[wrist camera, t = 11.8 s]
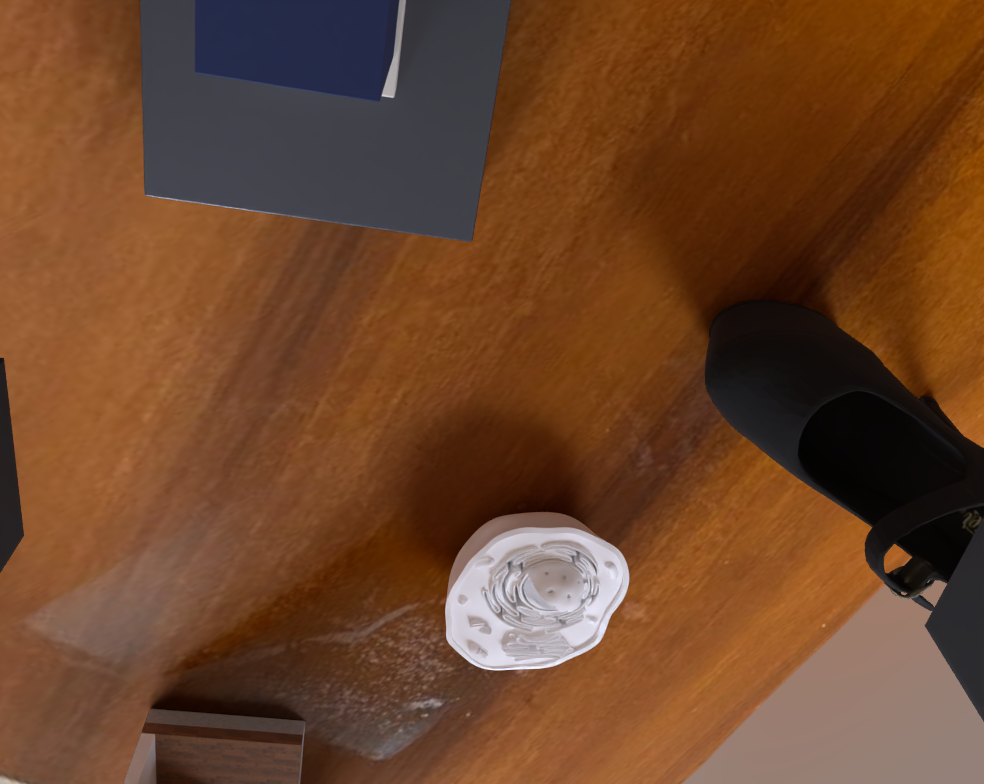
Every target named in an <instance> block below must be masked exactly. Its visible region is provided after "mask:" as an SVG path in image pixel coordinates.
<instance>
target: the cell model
mask: <svg viewBox="0 0 984 784" xmlns="http://www.w3.org/2000/svg"><path fill="white" fill-rule="evenodd" d="M628 585H629V571H628V566H627V563H626V560H625V558H624V556H623V555H622V553H621V552H620V551H619V550H618V549H617V548H616V547H614V546H613V545H611V544H610V543H608V542H606V541H604V540H603V539H602V538H600V537H599V536H597V535H596V534H595V533H594V532H593V531H591V530H590V529H589V528H588V527H586V526H585V525H584V524H583V523H581V522H580V521H578V520H576V519H574V518H572V517H570V516H567V515H564V514H560V513H554V512H530V513H520V514H511V515H504V516H500V517H497V518H494V519H492V520H490V521H488V522H487V523H485V524H484V525H483V526H481V527H480V528H479V529H478V530H477V531H476V532H475V533H474V534H473V535H472V536H471V537H470V538H469V540H468V541H467V542H466V543H465V544H464V546H463V547H462V548H461V550H460V551H459V553H458V555H457V557H456V559H455V561H454V564H453V566H452V569H451V573H450V577H449V583H448V591H447V600H446V607H445V617H446V638H447V641H448V643H449V644H450V645H451V646H452V647H453V648H454V649H455V650H456V651H457V652H458V653H459V654H460V655H461V656H463V657H464V658H465V659H466V660H467V661H469V662H470V663H472V664H474V665H475V666H477V667H480V668H483V669H487V670H515V669H538V668H547V667H552V666H555V665H558V664H560V663H562V662H564V661H567V660H569V659H571V658H573V657H575V656H578V655H580V654H582V653H584V652H586V651H588V650H590V649H591V648H593V647H594V646H596V645H597V644H598V643H599V642H600V641H601V639H602V637H603V635H604V633H605V630H606V628H607V625H608V622H609V619H610V617H611V615H612V613H613V612H614V611H615V609H616V608H617V607H618V606H619V604H620V603H621V602H622V600H623V598H624V596H625V594H626V592H627V589H628Z"/></svg>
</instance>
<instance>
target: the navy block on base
mask: <svg viewBox="0 0 984 784" xmlns="http://www.w3.org/2000/svg"><path fill="white" fill-rule="evenodd" d="M405 6H406V0H195V73H198V74H204V75H210V76H216V77H223V78H229V79H235V80H242V81H248V82H254V83H261V84H267V85H273V86H280V87H286V88H292V89H298V90H305V91H311V92H317V93H324V94H330V95H336V96H343V97H349V98H355V99H362V100H368V101H374V102H380V99H381V96H385V97H391V98H393V97H394V96H395V92H396V88H397V79H398V70H399V61H400V52H401V42H402V33H403V24H404V15H405Z"/></svg>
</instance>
